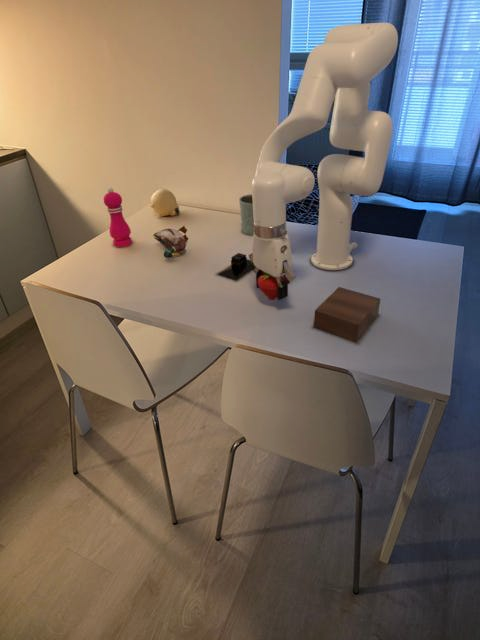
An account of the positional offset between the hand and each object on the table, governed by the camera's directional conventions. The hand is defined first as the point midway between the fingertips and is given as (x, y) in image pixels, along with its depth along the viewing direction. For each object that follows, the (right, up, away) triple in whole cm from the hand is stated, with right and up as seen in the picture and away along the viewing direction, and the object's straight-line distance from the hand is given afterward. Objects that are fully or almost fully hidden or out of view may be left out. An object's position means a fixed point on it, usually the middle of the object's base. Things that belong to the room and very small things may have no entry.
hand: (271, 291), depth 107 cm
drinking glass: (-3, +25, +44) cm, 51 cm away
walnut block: (+18, -8, -6) cm, 20 cm away
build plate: (-8, +8, +20) cm, 23 cm away
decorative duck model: (-32, +15, +32) cm, 48 cm away
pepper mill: (-50, +20, +41) cm, 68 cm away
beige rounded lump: (-39, +36, +63) cm, 82 cm away
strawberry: (0, -2, +2) cm, 3 cm away
